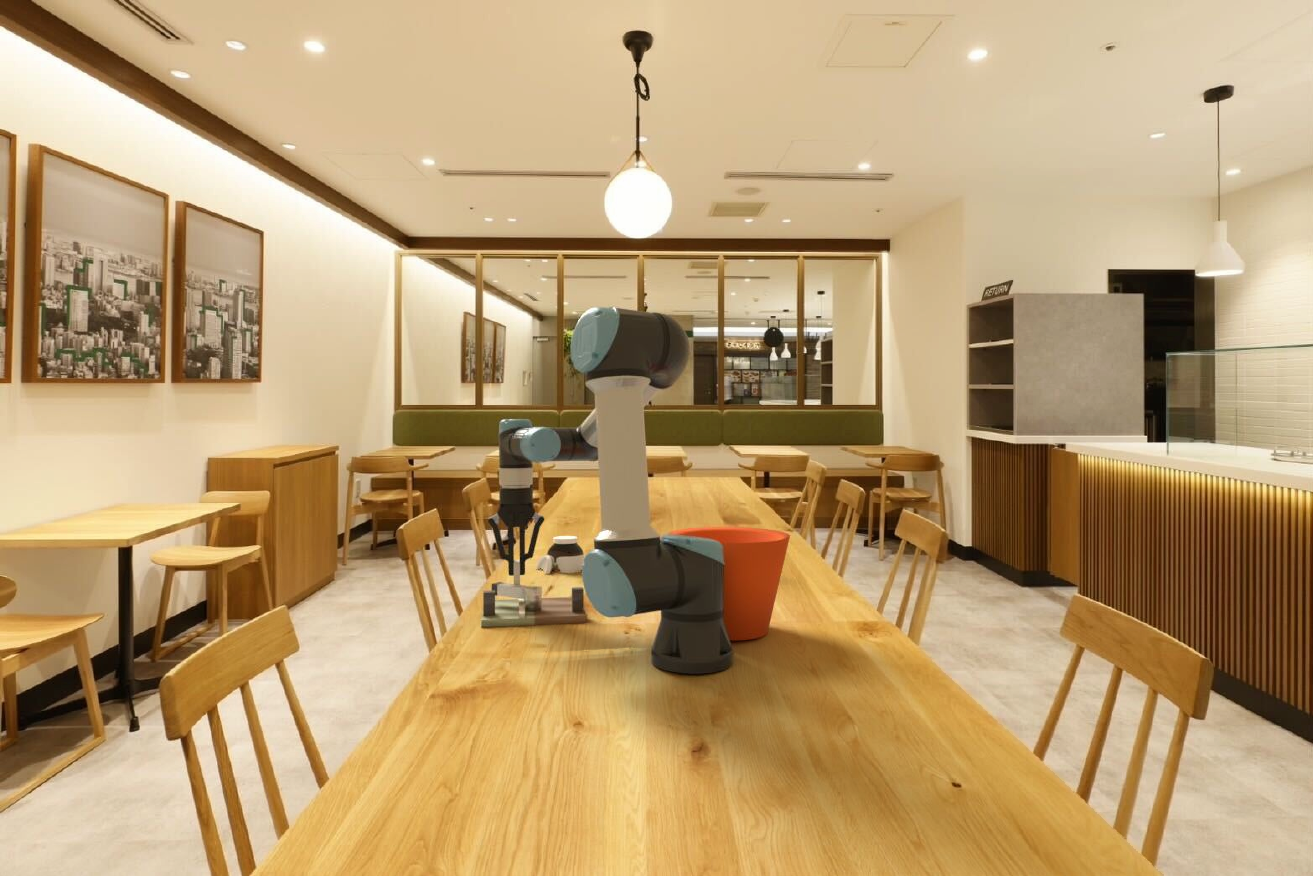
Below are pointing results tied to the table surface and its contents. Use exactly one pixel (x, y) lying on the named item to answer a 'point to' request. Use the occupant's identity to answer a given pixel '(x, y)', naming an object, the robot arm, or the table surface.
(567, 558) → the spread jar
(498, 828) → the table surface
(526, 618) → the lever base plate
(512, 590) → the lock bar
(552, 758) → the table surface
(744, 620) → the flowerpot
